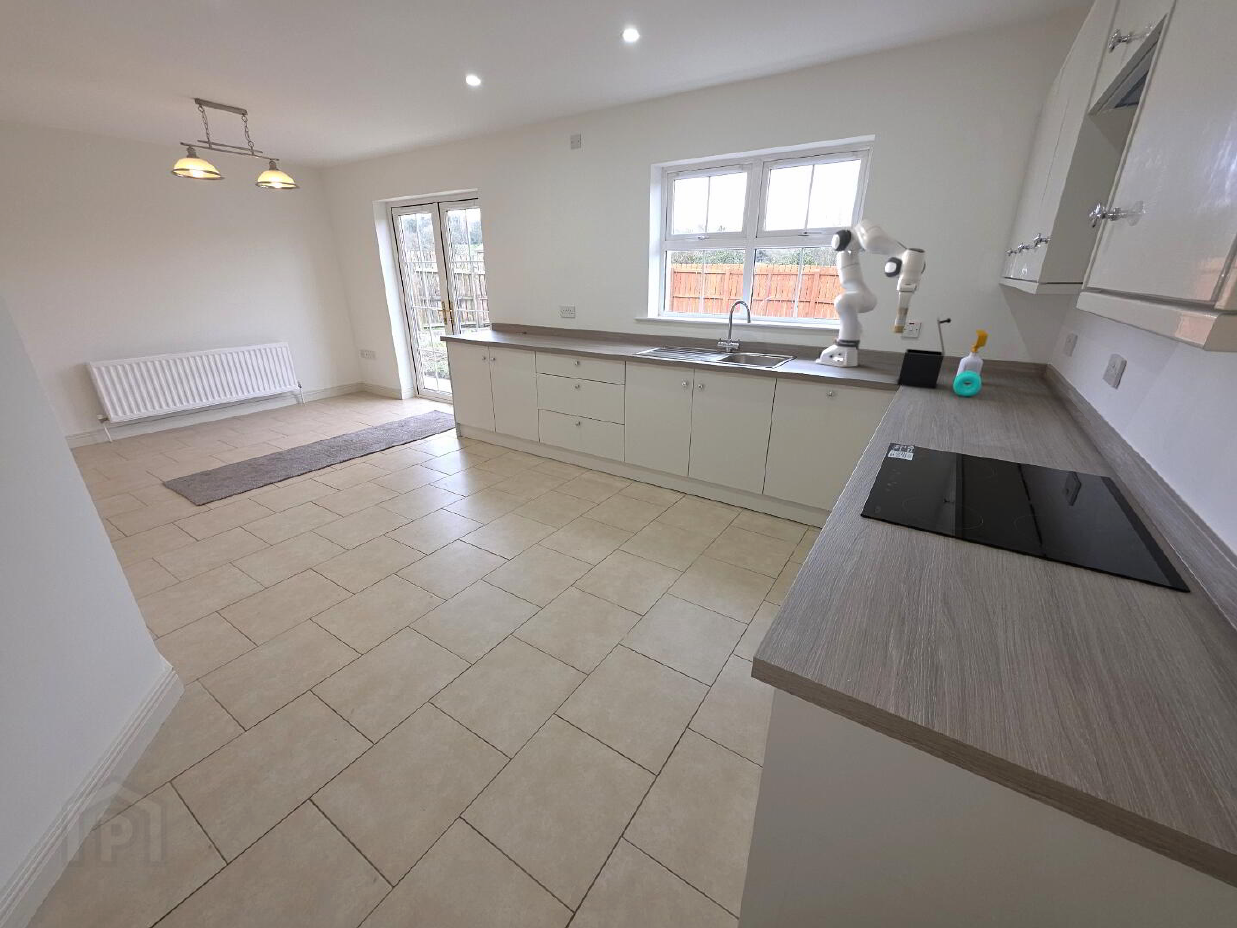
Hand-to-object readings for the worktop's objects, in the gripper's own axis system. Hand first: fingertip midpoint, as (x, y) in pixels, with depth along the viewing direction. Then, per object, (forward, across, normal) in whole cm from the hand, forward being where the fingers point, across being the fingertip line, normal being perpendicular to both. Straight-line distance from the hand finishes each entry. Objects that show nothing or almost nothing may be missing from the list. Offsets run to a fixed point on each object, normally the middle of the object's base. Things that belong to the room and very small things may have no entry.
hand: (901, 317), depth 229 cm
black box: (+30, 0, +13) cm, 33 cm away
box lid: (+7, 0, +17) cm, 19 cm away
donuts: (+31, +11, +32) cm, 45 cm away
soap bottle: (+31, -19, +34) cm, 49 cm away
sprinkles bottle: (+7, 0, 0) cm, 7 cm away
